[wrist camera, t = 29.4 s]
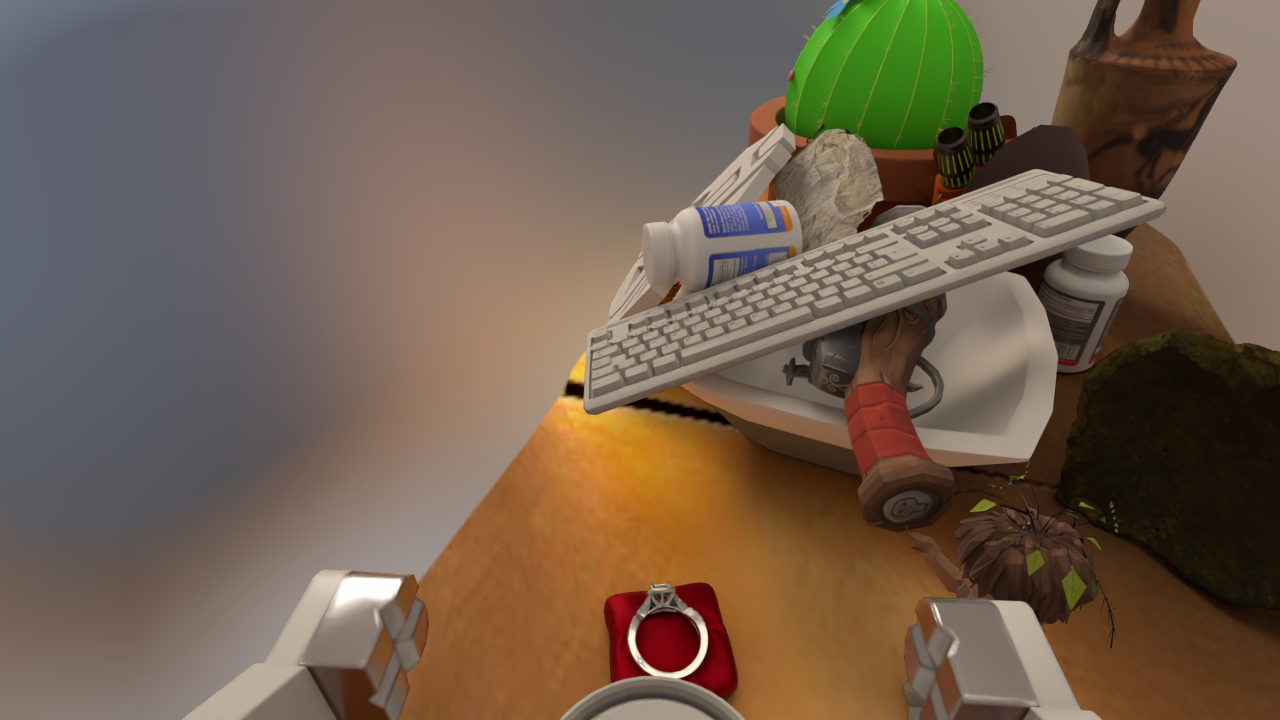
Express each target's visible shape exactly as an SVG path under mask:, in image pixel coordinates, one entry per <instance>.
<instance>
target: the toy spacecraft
mask: <svg viewBox="0 0 1280 720" xmlns="http://www.w3.org/2000/svg"><path fill="white" fill-rule="evenodd" d="M967 120H968V139H967V136H966V132H965V130H963V129H962V128H959V127H950V128H947V129H945V130H943V131H942V132H941V133H940V134H939V135H938V137H937V139H936V144H937V147H936V148H935V149H934V151H933V157H934V160H935V163H936V165H937V167H938V171H939V174H938V175H936V178H934V177H933V176H931V175H930V174H928V173H926V172H924V171H922V170H919V171H918V172H917V176H916V182H915V189H916V192H917V193H918V195H919V196H920V198H921V199H922V200H923V202H924V203H925V205H926V206H927V207H931V206H934V205H937V204H939V203H942V202H945V201H948V200H950V199H953V198H956V197H959V196H961V195H964V194H967V193H970V192H972V191H975V190H978V189H981V188H983V187H986V186H989V185H992V184H994V183H997V182H1000V181H1003V180H1005V179H1008V178H1011V177H1014V176H1016V175H1019V174H1022V173H1025V172H1027V171H1030V170H1034V169H1040V170H1044V171H1048V172H1052V173H1056V174H1060V175H1062V174H1064V175H1069V176H1072V177H1073V178H1075V179H1076V178H1080V179H1084V180H1088V181H1090V174H1089V166H1088V159H1087V152H1086V150H1085V148H1084V147H1083V145H1082V144H1081V142H1080V141H1079V140H1078V138H1077V137H1076V135H1075V134H1074V132H1073V131H1072V129H1071V128H1070V127H1066V126H1051V125H1040V126H1038V127H1034V128H1032V129H1031V130H1030V131H1028V132H1026V133H1024V134H1022V135H1020V136H1018V137H1017V131H1016V122H1015V119H1014V118H1013V117H1012V116H1009V115H1005V116H999V112H998V107H997V106H996V105H995V104H992V103H987V102H985V103H980V104H978V105H976V106H974V107H973V108H972V109H971V110H970V111H969V113H968V115H967ZM918 184H919V185H918ZM1061 258H1063V251H1062V252H1059V253H1057V254H1054V255H1051V256H1048V257H1045V258H1042V259H1039V260H1037V261H1034V262H1031V263H1028V264H1025V265H1022V266H1020V267H1017V268H1014V269H1011V270H1008V271H1007V272H1010V273H1014V274H1018V275H1021V276H1024V277H1025V278H1026V279H1027V281H1028V282H1029V284H1030V286H1031V287H1032V289H1033V290H1034V292H1035V294H1036V293H1037V290H1038V287H1039V285H1040V282H1041V279H1042V277H1043V274H1044V272H1045V270H1046V268H1047V267H1048V265H1049V264H1051V263H1052V262H1054V261H1056V260H1058V259H1061Z"/></svg>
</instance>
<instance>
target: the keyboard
mask: <svg viewBox="0 0 1280 720" xmlns="http://www.w3.org/2000/svg"><path fill="white" fill-rule="evenodd" d="M1166 209H1167V208H1166V204H1165V203H1164V202H1162V201H1160V200H1157V199H1153V198H1149V197H1145V196H1141V194H1139V193H1135V192H1131V191H1127V190H1122V189H1118V188H1114V187H1106V186H1104V185H1103V184H1099V183H1095V182H1091V181H1088V180H1084V179H1080V178H1076V179H1075V178H1073V177H1072V176H1069V175H1064V174H1062V175H1060V174H1056V173H1052V172H1048V171H1044V170H1040V169H1034V170H1030V171H1027V172H1025V173H1022V174H1019V175H1016V176H1014V177H1011V178H1008V179H1005V180H1003V181H1000V182H997V183H994V184H992V185H989V186H986V187H983V188H981V189H978V190H975V191H972V192H970V193H967V194H964V195H961V196H959V197H956V198H953V199H950V200H948V201H945V202H942V203H939V204H937V205H934V206H931V207H928V208H926V209H923V210H920V211H918V212H915V213H912V214H909V215H907V216H904V217H901V218H898V219H896V220H893V221H890V222H887V223H885V224H882V225H879V226H876V227H874V228H871V229H868V230H865V231H863V232H860V233H857V234H855V235H852V236H849V237H846V238H843V239H841V240H838V241H835V242H833V243H830V244H827V245H824V246H822V247H819V248H816V249H813V250H811V251H808V252H805V253H802V254H800V255H797V256H794V257H791V258H789V259H786V260H783V261H780V262H778V263H775V264H772V265H769V266H767V267H764V268H761V269H758V270H756V271H753V272H750V273H748V274H745V275H742V276H739V277H737V278H734V279H731V280H728V281H726V282H723V283H720V284H717V285H715V286H712V287H709V288H706V289H704V290H701V291H698V292H695V293H693V294H690V295H687V296H684V297H682V298H679V299H676V300H673V301H671V302H668V303H665V304H663V305H660V306H657V307H654V308H652V309H649V310H646V311H643V312H641V313H638V314H635V315H632V316H630V317H627V318H624V319H621V320H619V321H616V322H613V323H610V324H608V325H605V326H603V327H600V328H597V329H594V330H592V331H589V332H588V333H587V345H586V365H585V385H584V409H585V411H586V413H587V414H592V415H597V414H600V413H603V412H606V411H609V410H611V409H614V408H617V407H620V406H623V405H626V404H629V403H631V402H634V401H637V400H640V399H643V398H646V397H649V396H651V395H654V394H657V393H660V392H663V391H666V390H668V389H671V388H674V387H677V386H680V385H683V384H686V383H688V382H691V381H694V380H697V379H700V378H703V377H706V376H708V375H711V374H714V373H717V372H720V371H723V370H726V369H728V368H731V367H734V366H737V365H740V364H743V363H746V362H748V361H751V360H754V359H757V358H760V357H763V356H766V355H768V354H771V353H774V352H777V351H780V350H783V349H785V348H788V347H791V346H794V345H797V344H800V343H803V342H805V341H808V340H811V339H814V338H817V337H820V336H823V335H825V334H828V333H831V332H834V331H837V330H840V329H843V328H845V327H848V326H851V325H854V324H857V323H860V322H863V321H865V320H868V319H871V318H874V317H877V316H880V315H883V314H885V313H888V312H891V311H894V310H897V309H900V308H902V307H905V306H908V305H911V304H914V303H917V302H920V301H922V300H925V299H928V298H931V297H934V296H937V295H940V294H942V293H945V292H948V291H951V290H954V289H957V288H960V287H962V286H965V285H968V284H971V283H974V282H977V281H980V280H982V279H985V278H988V277H991V276H994V275H997V274H1000V273H1002V272H1005V271H1008V270H1011V269H1014V268H1017V267H1020V266H1022V265H1025V264H1028V263H1031V262H1034V261H1037V260H1039V259H1042V258H1045V257H1048V256H1051V255H1054V254H1057V253H1059V252H1062V251H1065V250H1068V249H1071V248H1074V247H1077V246H1079V245H1082V244H1085V243H1088V242H1091V241H1094V240H1097V239H1099V238H1102V237H1105V236H1108V235H1111V234H1114V233H1117V232H1119V231H1122V230H1125V229H1128V228H1131V227H1134V226H1137V225H1139V224H1142V223H1145V222H1148V221H1151V220H1154V219H1156V218H1158V217H1160V216H1161V215H1162V214H1163V213H1165V211H1166Z"/></svg>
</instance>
